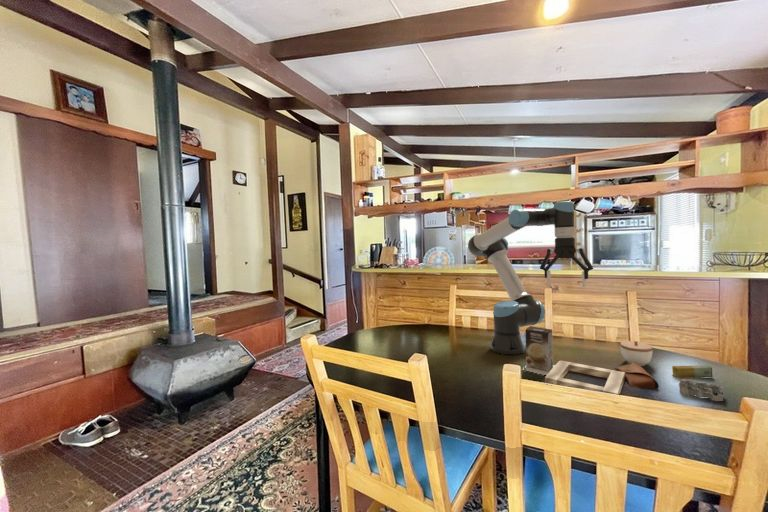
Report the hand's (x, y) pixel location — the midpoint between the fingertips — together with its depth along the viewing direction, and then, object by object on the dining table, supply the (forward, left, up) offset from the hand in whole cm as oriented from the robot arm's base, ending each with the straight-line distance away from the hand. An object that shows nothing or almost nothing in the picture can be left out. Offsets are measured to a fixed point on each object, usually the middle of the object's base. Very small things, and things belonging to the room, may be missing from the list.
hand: (566, 286), depth 140 cm
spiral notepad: (-7, -17, -33) cm, 37 cm away
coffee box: (-7, -17, -32) cm, 37 cm away
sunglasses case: (+24, -6, -33) cm, 41 cm away
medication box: (+40, +7, -33) cm, 52 cm away
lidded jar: (+23, +11, -33) cm, 42 cm away
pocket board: (+10, -20, -33) cm, 40 cm away
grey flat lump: (+41, -10, -33) cm, 54 cm away
